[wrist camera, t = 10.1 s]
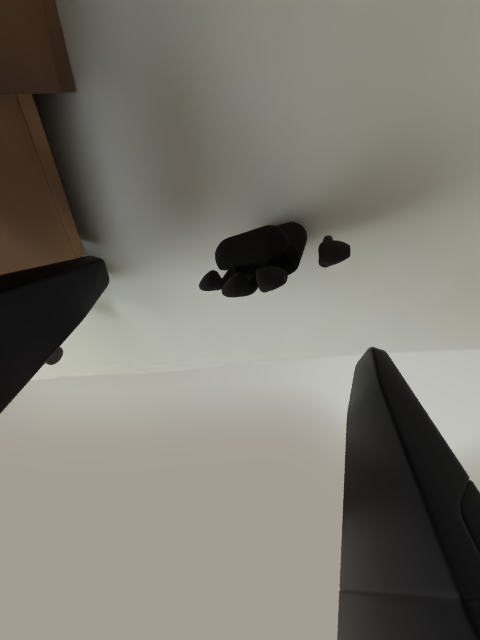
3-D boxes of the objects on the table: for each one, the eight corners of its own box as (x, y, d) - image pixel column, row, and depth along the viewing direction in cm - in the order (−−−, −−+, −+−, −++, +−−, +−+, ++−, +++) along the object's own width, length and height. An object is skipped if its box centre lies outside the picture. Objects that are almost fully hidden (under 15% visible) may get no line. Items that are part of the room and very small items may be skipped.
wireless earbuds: (227, 265, 15) (188, 318, 12) (208, 225, 14) (158, 272, 11) (354, 231, 12) (351, 293, 8) (343, 175, 11) (335, 220, 7)
